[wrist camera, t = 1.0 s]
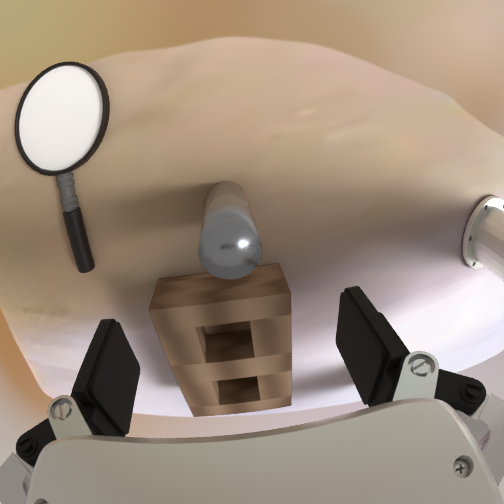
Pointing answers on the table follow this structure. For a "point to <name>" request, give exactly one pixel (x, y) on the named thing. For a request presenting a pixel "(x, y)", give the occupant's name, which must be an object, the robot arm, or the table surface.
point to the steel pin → (228, 233)
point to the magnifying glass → (64, 136)
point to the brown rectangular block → (227, 339)
